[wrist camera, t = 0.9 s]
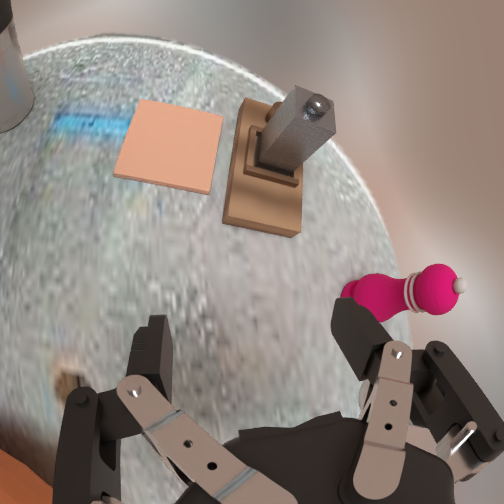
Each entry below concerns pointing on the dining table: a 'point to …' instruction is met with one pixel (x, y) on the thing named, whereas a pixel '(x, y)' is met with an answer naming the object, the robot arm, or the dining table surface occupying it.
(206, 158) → the coaster
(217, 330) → the dining table surface
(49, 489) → the bowl
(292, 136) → the grey square grinder
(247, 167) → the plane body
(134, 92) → the dining table surface
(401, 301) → the pepper mill
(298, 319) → the dining table surface
